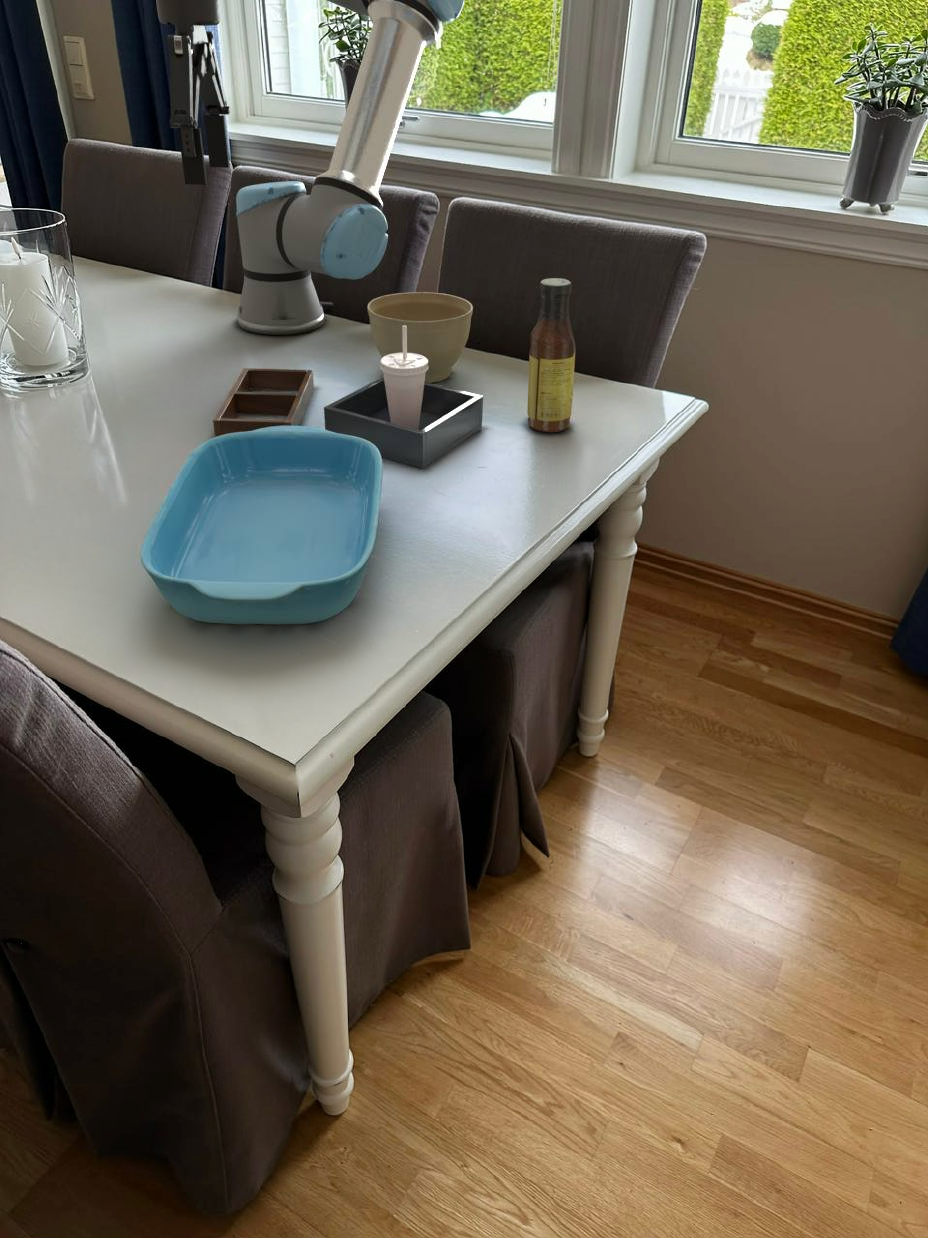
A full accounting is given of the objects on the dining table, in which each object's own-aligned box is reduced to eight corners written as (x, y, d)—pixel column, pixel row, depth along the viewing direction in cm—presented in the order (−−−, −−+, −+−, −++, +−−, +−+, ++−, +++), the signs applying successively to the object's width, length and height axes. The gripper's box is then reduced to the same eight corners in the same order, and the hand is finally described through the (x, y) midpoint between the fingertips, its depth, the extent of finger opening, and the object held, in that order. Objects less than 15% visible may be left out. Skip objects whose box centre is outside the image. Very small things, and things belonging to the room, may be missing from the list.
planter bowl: (477, 362, 149) (480, 294, 143) (460, 397, 136) (462, 325, 130) (383, 353, 151) (382, 287, 145) (357, 387, 138) (354, 316, 132)
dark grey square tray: (390, 404, 133) (389, 373, 130) (482, 428, 127) (483, 395, 124) (325, 440, 122) (323, 407, 119) (422, 468, 116) (422, 433, 113)
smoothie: (431, 421, 126) (431, 321, 118) (424, 440, 121) (425, 336, 113) (386, 418, 127) (383, 318, 119) (378, 437, 122) (374, 333, 114)
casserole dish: (372, 656, 83) (369, 592, 79) (127, 655, 82) (112, 590, 78) (389, 478, 113) (387, 424, 109) (210, 476, 112) (202, 422, 108)
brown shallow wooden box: (246, 387, 137) (243, 367, 136) (314, 388, 137) (312, 369, 136) (215, 441, 121) (212, 420, 119) (293, 443, 121) (291, 422, 119)
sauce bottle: (578, 426, 129) (593, 282, 117) (551, 438, 125) (564, 291, 113) (543, 413, 132) (554, 272, 121) (515, 424, 128) (524, 280, 117)
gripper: (181, -15, 122) (203, 159, 134) (123, -15, 101) (155, 191, 113) (237, -13, 122) (253, 161, 134) (190, -13, 101) (214, 192, 114)
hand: (208, 175), depth 124 cm, fingers open, 13 cm apart
